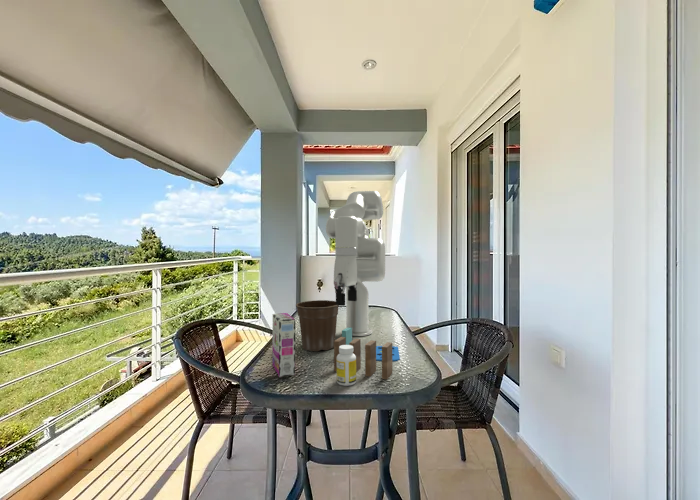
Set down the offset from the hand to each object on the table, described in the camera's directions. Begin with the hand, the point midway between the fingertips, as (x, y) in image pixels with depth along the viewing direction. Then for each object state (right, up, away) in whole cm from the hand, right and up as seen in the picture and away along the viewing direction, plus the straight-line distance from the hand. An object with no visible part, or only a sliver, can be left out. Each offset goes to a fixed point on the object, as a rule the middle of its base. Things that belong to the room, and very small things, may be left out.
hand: (346, 303), depth 115 cm
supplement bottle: (0, -19, -22) cm, 29 cm away
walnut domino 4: (+12, -18, -18) cm, 28 cm away
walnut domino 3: (+7, -18, -16) cm, 25 cm away
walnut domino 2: (+3, -18, -14) cm, 23 cm away
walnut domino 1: (-2, -18, -12) cm, 22 cm away
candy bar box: (-19, -18, -13) cm, 30 cm away
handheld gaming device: (+14, -19, +2) cm, 23 cm away
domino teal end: (0, -18, 0) cm, 18 cm away
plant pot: (-11, -18, +11) cm, 24 cm away
